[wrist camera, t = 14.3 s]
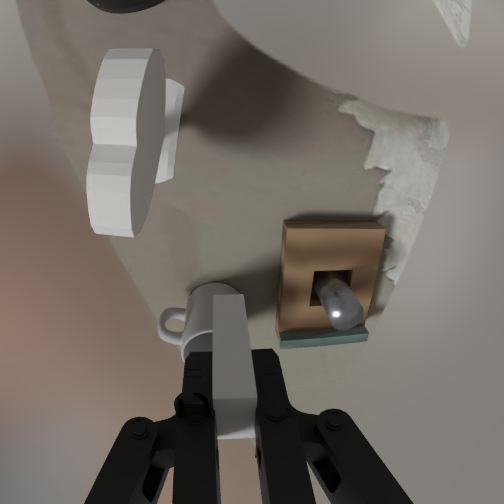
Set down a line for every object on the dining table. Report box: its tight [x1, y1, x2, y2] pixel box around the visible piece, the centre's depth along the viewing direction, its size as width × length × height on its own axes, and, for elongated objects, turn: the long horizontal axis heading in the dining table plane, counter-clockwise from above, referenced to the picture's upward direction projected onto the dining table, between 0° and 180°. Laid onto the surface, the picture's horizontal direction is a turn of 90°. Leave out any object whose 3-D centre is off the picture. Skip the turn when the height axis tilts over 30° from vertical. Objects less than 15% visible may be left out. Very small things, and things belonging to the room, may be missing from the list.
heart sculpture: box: [87, 48, 185, 237], centre depth 28 cm, size 16×5×18 cm, turn 171°
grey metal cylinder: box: [312, 270, 364, 330], centre depth 42 cm, size 4×4×10 cm
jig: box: [275, 221, 386, 349], centre depth 44 cm, size 18×14×5 cm
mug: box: [158, 283, 239, 363], centre depth 42 cm, size 12×8×11 cm
